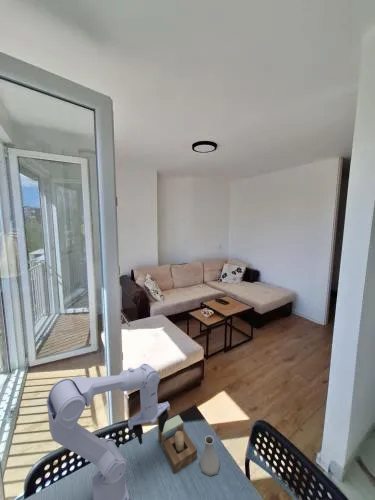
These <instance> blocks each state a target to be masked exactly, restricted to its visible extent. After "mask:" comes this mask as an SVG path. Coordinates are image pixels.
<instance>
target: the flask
mask: <svg viewBox="0 0 375 500" xmlns="http://www.w3.org/2000/svg"><path fill="white" fill-rule="evenodd" d="M204 442H205V446H204V449H203V452H202V455H201V457H200V460H199V462H198V463H199V468H200V472H201V473H202V474H205V475H207V476H208V477H210V476H215V475H219V470H220V466H221V463H220V461H219V458H218V455H217V452H216V451H215V447H214V446H215V445H214V443H215V439H214V436H212V435H210V434H209V435H205V437H204Z"/></svg>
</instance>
